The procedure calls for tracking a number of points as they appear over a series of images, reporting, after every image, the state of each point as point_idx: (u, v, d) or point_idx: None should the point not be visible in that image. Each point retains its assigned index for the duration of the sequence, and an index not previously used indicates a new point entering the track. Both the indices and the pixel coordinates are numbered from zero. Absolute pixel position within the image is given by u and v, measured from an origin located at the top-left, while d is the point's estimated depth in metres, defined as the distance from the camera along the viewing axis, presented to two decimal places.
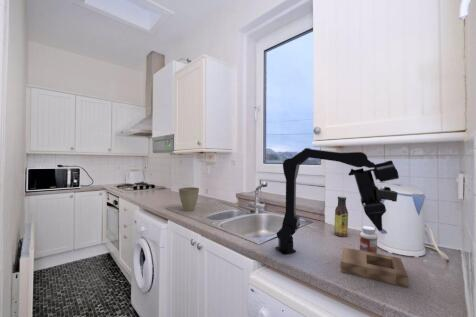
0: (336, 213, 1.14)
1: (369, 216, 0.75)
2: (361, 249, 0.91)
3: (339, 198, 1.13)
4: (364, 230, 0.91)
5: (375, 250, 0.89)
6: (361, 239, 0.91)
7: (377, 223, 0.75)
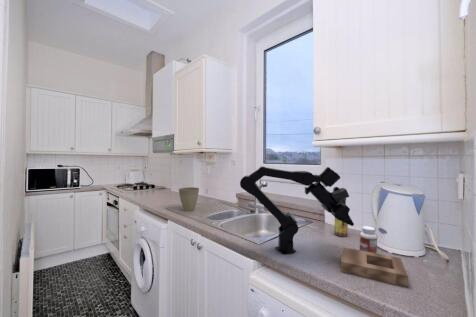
0: None
1: (340, 219, 0.86)
2: (361, 249, 0.91)
3: None
4: (364, 230, 0.91)
5: (375, 250, 0.89)
6: (361, 239, 0.91)
7: (348, 221, 0.87)
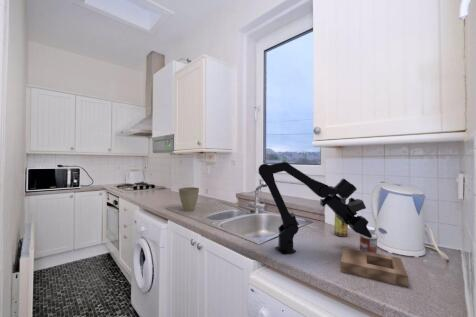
0: None
1: (359, 232, 0.86)
2: (361, 249, 0.91)
3: None
4: None
5: (375, 250, 0.89)
6: (361, 239, 0.91)
7: (366, 234, 0.86)
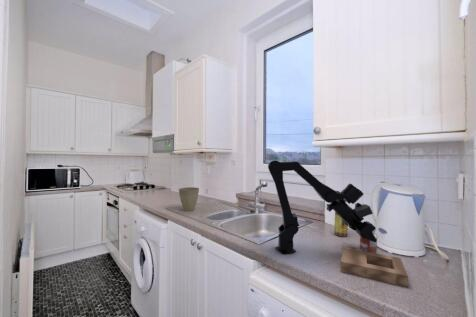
0: (336, 213, 1.14)
1: None
2: (361, 249, 0.91)
3: None
4: None
5: (375, 250, 0.89)
6: (361, 239, 0.91)
7: (371, 238, 0.88)
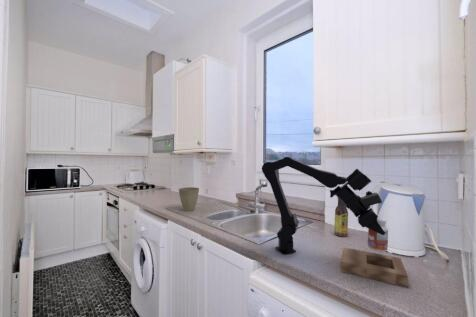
0: (336, 213, 1.14)
1: (367, 226, 0.78)
2: (368, 242, 0.82)
3: None
4: None
5: (384, 244, 0.78)
6: (369, 230, 0.82)
7: (377, 229, 0.78)
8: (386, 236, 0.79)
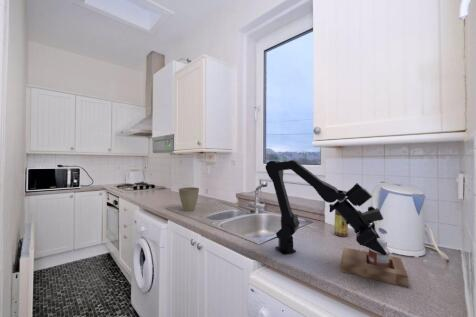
0: (336, 213, 1.14)
1: (367, 245, 0.74)
2: None
3: None
4: None
5: None
6: (369, 251, 0.79)
7: (378, 249, 0.74)
8: (387, 259, 0.75)
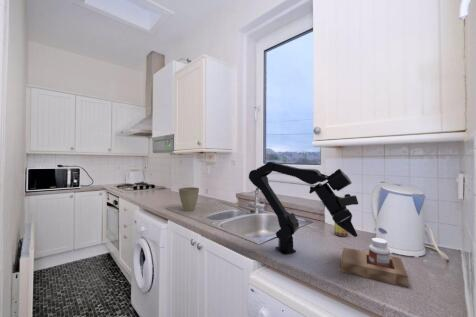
0: None
1: (341, 225, 0.77)
2: None
3: None
4: (372, 242, 0.78)
5: None
6: (369, 251, 0.79)
7: (350, 230, 0.77)
8: (387, 259, 0.75)
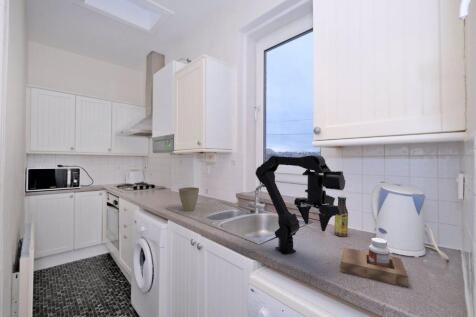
0: None
1: (323, 217, 0.79)
2: None
3: (339, 198, 1.13)
4: (372, 242, 0.78)
5: None
6: (369, 251, 0.79)
7: (324, 225, 0.80)
8: (387, 259, 0.75)
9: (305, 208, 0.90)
